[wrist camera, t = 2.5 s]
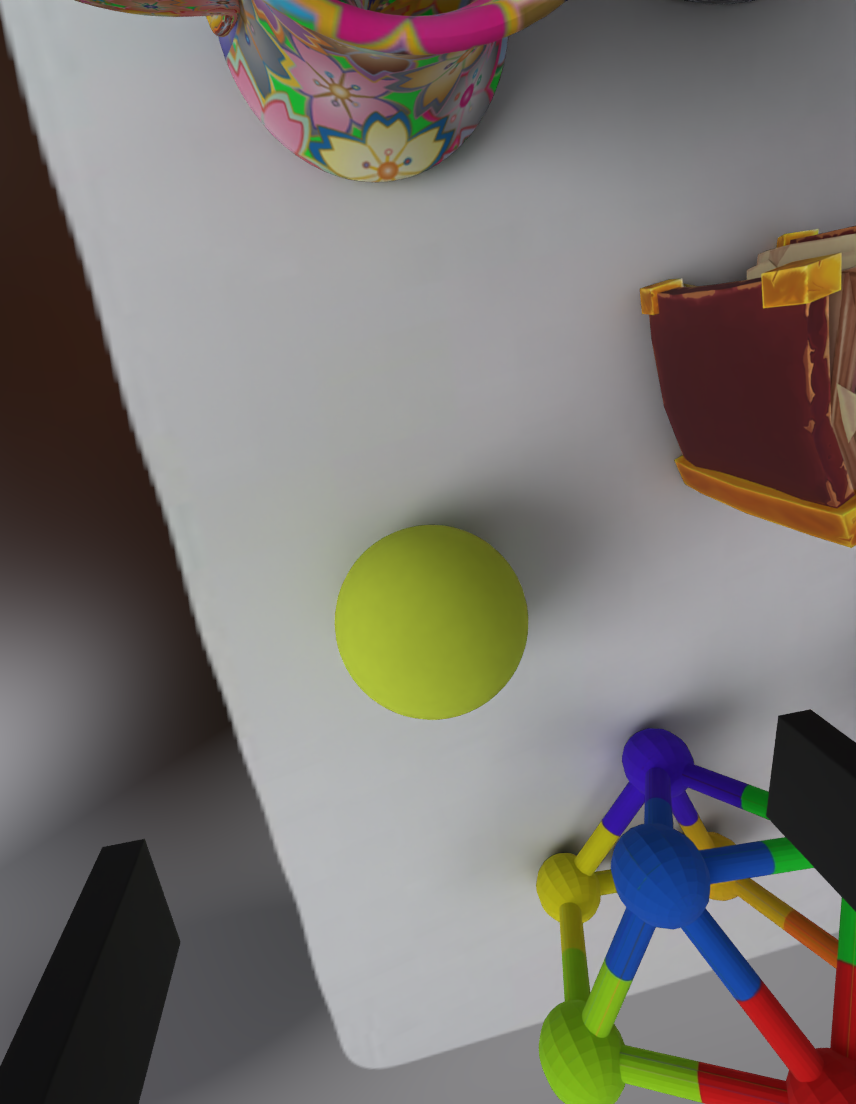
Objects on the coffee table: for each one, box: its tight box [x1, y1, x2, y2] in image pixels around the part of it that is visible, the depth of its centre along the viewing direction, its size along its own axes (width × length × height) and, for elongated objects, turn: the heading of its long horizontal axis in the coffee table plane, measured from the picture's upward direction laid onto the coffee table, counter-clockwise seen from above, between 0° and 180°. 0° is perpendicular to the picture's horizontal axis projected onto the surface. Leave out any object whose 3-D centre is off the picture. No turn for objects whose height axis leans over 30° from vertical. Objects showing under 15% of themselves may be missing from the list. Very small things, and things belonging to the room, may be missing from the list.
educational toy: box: [536, 728, 856, 1104], centre depth 22 cm, size 16×13×15 cm
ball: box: [335, 525, 528, 720], centre depth 21 cm, size 7×7×7 cm
